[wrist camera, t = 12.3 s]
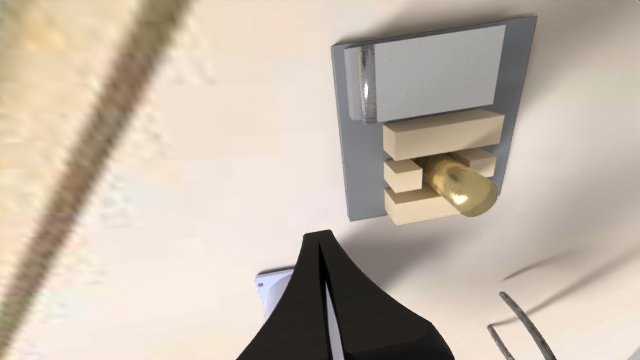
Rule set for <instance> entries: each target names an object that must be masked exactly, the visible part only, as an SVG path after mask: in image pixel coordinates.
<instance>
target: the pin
mask: <svg viewBox="0 0 640 360" xmlns="http://www.w3.org/2000/svg"><path fill="white" fill-rule="evenodd" d="M414 163H416V164H417V165H418V166H419V167H421V168H422V169H423V170H422V179H423V180H424V181H425V182H426V183H427V184H429V185H430V186H431V187H432V188H433V189H434V190H435V191H436V192H438V193H439V194H440V195H441V196H442V197H443V198H444V199H445V200H447V201H448V202H449V203H450V204H451V205H452V206H453V207H454V208H456V209H457V210H458V211H459V212H460V213H461V214H463V215H465V216H468V217H473V216H478V215H481V214H483V213H485V212H486V211H488V210H489V209H490V208H491V207H492V206H493V205H494V203H495V202H496V200H497V197H498V187H497V185H496V184H495V183H494V182H493V181H491V180H489V179H488V178H486V177H484V176H482V175H481V174H479V173H477V172H476V171H474V170H472V169H471V168H469V167H467V166H466V165H464V164H462V163H461V162H459V161H457V160H455V159H454V158H452V157H450V156H449V155H447V154H445V153H439V154H433V155H428V156H422V157H416V159H415V161H414Z"/></svg>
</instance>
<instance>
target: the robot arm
mask: <svg viewBox="0 0 640 360" xmlns="http://www.w3.org/2000/svg"><path fill="white" fill-rule="evenodd" d="M260 283H262V284H260ZM255 284H256V287H257V290H258V293H259V296H260V299H261V302H262V305H263V307H264V310H265V312H264V323H263V326H262V328H261V329H260V330H259V332H258V333H257V335H256V336H255V337H254V339H253V340H252V341H251V342H250V343H249V345H248V346H247V347H246V348H245V350H244V351H243V352H242V353H241V354H240V356H239V357H238V358H237V359H236V360H455V358H454V356H453V354H452V352H451V350H450V348H449V346H448V345H447V343H446V342H445V340H444V339H443V337H442V336H441V335H440V333H439V332H438V331H437V329H436V328H435V327H434V325H433V324H432V323H431V322H429V321H428V320H426V319H424V318H423V317H421V316H419V315H417V314H416V313H414V312H412V311H411V310H409V309H408V308H406V307H405V306H403V305H402V304H400V303H399V302H397V301H396V300H395V299H393V298H392V297H391V296H390V295H388V294H387V293H386V292H384V291H383V290H382V289H380V288H379V287H378V286H377V285H376V284H375V283H373V282H372V281H371V280H370V279H369V278H368V277H367V276H366V275H365V274H364V273H363V272H362V271H361V270H360V269H359V268H358V267H357V266H356V265H355V264H354V262H353V261H352V260H351V259H350V258H349V257H348V255H347V254H346V253H345V251H344V250H343V249H342V247H341V246H340V245H339V243H338V242H337V240H336V238H335V237H334V235H333V233H332V231H331V230H330V229H329V230H323V231H317V232H312V233H306V234H305V235H304V236H303V242H302V247H301V250H300V254H299V257H298V260H297V263H296V266H295V268H294V269H289V270H284V271H278V272H273V273H267V274H262V275H257V276H256V277H255Z"/></svg>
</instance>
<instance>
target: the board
mask: <svg viewBox="0 0 640 360" xmlns="http://www.w3.org/2000/svg"><path fill="white" fill-rule="evenodd" d="M536 21H537V16H531V17H524V18H517V19H511V20H504V21H497V22H490V23H484V24H477V25H470V26H464V27H457V28H450V29H443V30H437V31H430V32H423V33H416V34H410V35H403V36H396V37H389V38H383V39H376V40H369V41H362V42H356V43H349V44H342V45H335V46H331V55H332V65H333V75H334V85H335V95H336V104H337V114H338V124H339V134H340V144H341V153H342V163H343V173H344V183H345V193H346V202H347V212H348V217H349V220H350V222H351V221H357V220H363V219H368V218H374V217H380V216H385V215H389V216H390V218H391V219H392V221H393V222H394V224H395V226H396V225H402V224H408V223H413V222H419V221H424V220H430V219H435V218H441V217H447V216H452V215H458V214H461V213H460V212H459V211H458V210H457V209H456V208H454V207H453V206H452V205H451V204H450V203H449V202H448V201H447V200H445V199H444V198H443V197H442V196H441V195H440V194H439V193H438V192H436V191H435V190H434V189H433V188H432V187H431V186H430V185H429V184H427V183H426V182H425V181H424V180H423V179H422V170H423V169H422V168H421V167H419V166H418V165H417V164H416V163H414V161H415V159H416V157H422V156H428V155H433V154H439V153H445V154H447V155H449V156H450V157H452V158H454V159H455V160H457V161H459V162H461V163H462V164H464V165H466V166H467V167H469V168H471V169H472V170H474V171H476V172H477V173H479V174H481V175H482V176H484V177H486V178H488V179H489V180H491V181H493V182H494V183H495V184H496V185H497V187H498V195H500V192H501V188H502V183H503V178H504V173H505V169H506V164H507V159H508V154H509V150H510V145H511V140H512V135H513V131H514V126H515V121H516V116H517V112H518V107H519V102H520V97H521V93H522V88H523V83H524V78H525V74H526V69H527V64H528V59H529V55H530V50H531V45H532V40H533V35H534V31H535V26H536ZM501 25H506V27H505V33H504V39H503V45H502V52H501V58H500V64H499V70H498V76H497V82H496V88H495V94H494V100H493V104H490V105H484V106H477V107H471V108H465V109H458V110H452V111H446V112H440V113H433V114H427V115H421V116H414V117H408V118H402V119H395V120H389V121H383V122H377V123H375V124H362V117H361V101H360V84H359V68H358V51H357V47H360V46H367V45H373V44H380V43H387V42H394V41H400V40H407V39H414V38H420V37H427V36H434V35H441V34H447V33H454V32H461V31H467V30H474V29H481V28H488V27H494V26H501Z"/></svg>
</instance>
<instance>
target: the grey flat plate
mask: <svg viewBox="0 0 640 360" xmlns="http://www.w3.org/2000/svg"><path fill="white" fill-rule="evenodd" d="M505 27H506V25H501V26H494V27H488V28H481V29H474V30H467V31H461V32H454V33H447V34H441V35H434V36H427V37H420V38H414V39H407V40H400V41H394V42H387V43H380V44H373V45H367V46H360V47H357V51H358V68H359V84H360V101H361V117H362V124H375V123H377V122H383V121H389V120H395V119H402V118H408V117H414V116H421V115H427V114H433V113H440V112H446V111H452V110H458V109H465V108H471V107H477V106H484V105H490V104H493V100H494V94H495V88H496V82H497V76H498V70H499V64H500V58H501V52H502V45H503V39H504V33H505Z"/></svg>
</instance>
